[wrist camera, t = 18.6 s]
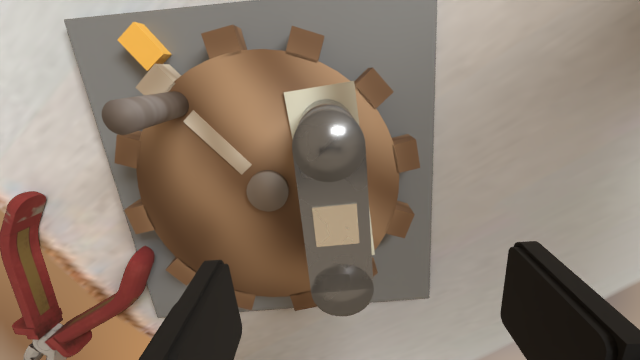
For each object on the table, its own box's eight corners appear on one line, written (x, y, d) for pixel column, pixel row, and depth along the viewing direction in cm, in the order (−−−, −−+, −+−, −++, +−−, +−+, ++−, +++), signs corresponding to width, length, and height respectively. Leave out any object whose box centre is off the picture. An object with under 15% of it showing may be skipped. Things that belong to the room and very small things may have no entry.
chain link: (351, 96, 20) (363, 106, 14) (361, 254, 23) (375, 314, 18) (296, 101, 20) (287, 114, 14) (315, 258, 24) (314, 319, 18)
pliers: (-7, 350, 31) (-38, 374, 29) (32, 181, 25) (-2, 192, 23) (101, 400, 32) (80, 427, 30) (165, 248, 26) (146, 266, 23)
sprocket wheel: (264, -52, 19) (228, -131, 12) (468, 183, 24) (536, 234, 16) (76, 176, 24) (-38, 226, 16) (278, 334, 29) (262, 429, 21)
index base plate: (433, -16, 21) (444, -24, 19) (426, 292, 28) (433, 307, 27) (72, 21, 21) (48, 16, 19) (161, 311, 29) (150, 328, 27)
